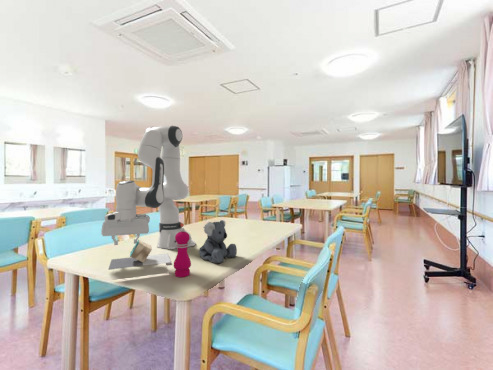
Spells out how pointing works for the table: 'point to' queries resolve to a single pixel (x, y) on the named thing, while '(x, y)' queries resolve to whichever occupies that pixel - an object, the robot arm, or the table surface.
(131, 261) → the mat
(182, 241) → the pepper mill
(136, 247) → the beech block
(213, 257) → the koala plush
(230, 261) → the table surface
